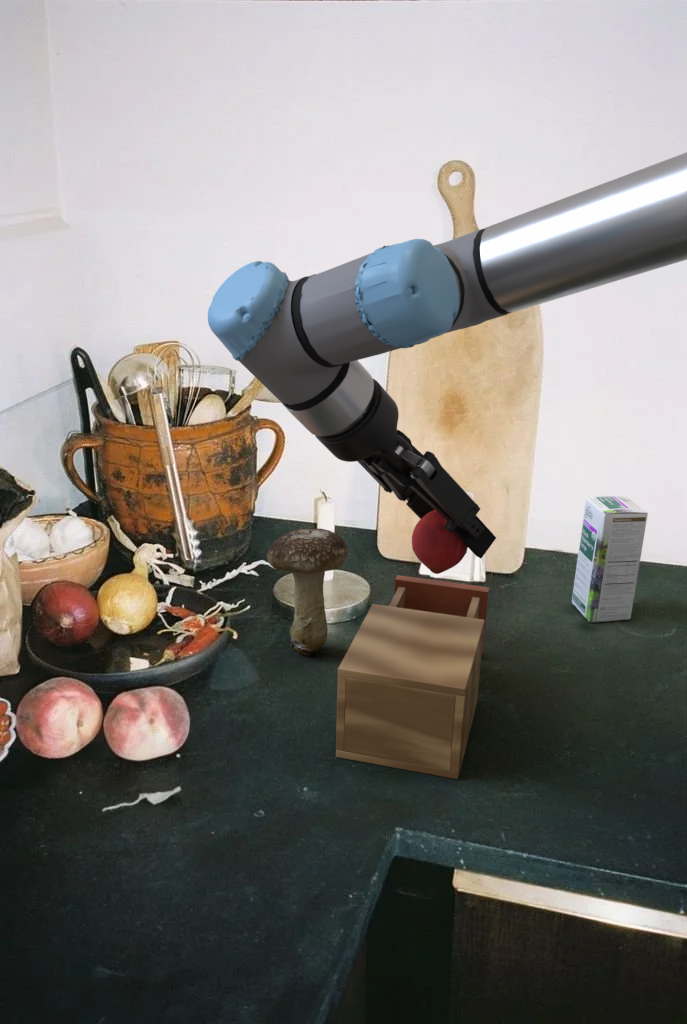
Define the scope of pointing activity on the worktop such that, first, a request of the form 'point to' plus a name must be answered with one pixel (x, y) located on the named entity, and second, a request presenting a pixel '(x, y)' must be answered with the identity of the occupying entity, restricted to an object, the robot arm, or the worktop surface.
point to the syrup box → (608, 558)
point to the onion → (436, 543)
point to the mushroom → (308, 580)
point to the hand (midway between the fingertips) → (465, 536)
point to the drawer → (441, 598)
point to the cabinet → (409, 690)
